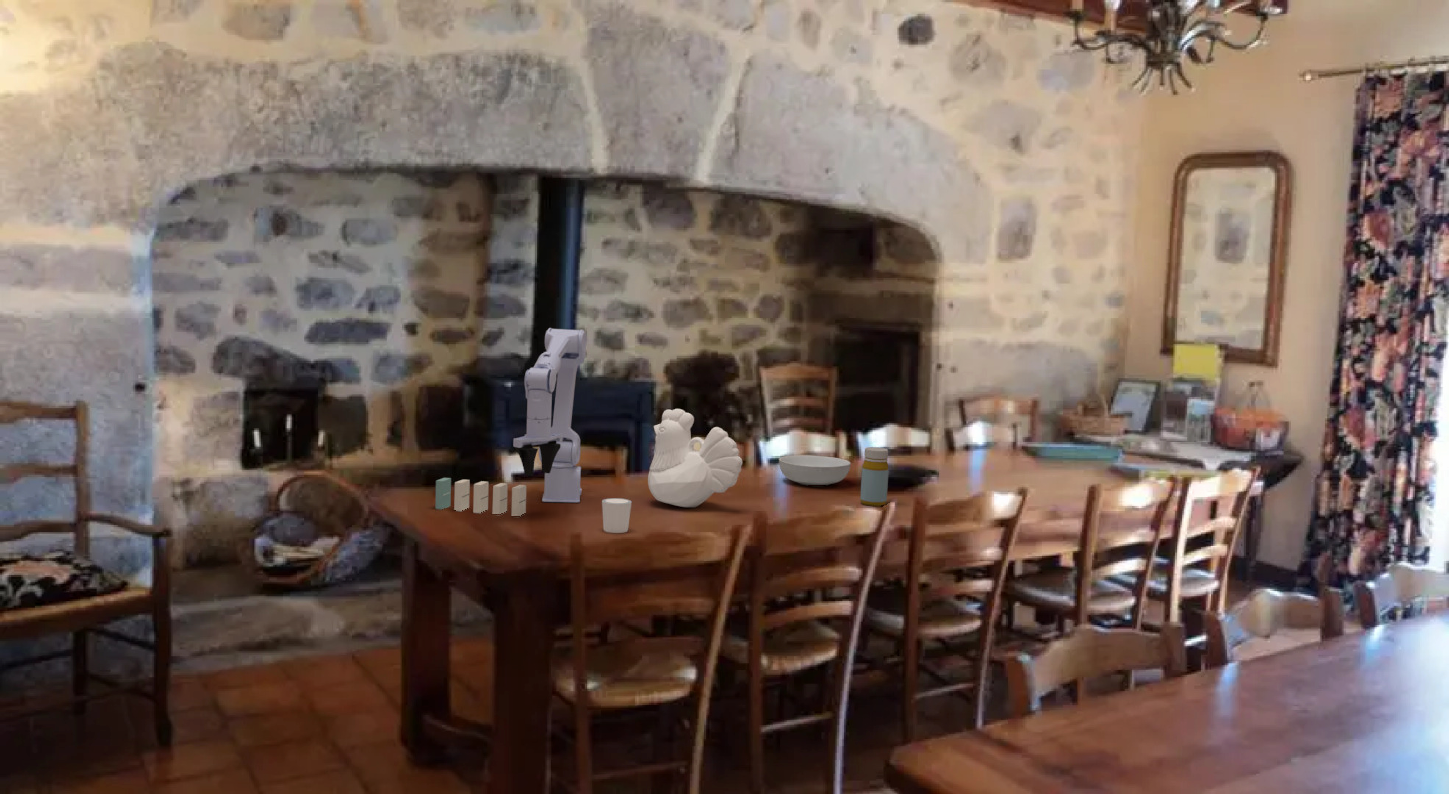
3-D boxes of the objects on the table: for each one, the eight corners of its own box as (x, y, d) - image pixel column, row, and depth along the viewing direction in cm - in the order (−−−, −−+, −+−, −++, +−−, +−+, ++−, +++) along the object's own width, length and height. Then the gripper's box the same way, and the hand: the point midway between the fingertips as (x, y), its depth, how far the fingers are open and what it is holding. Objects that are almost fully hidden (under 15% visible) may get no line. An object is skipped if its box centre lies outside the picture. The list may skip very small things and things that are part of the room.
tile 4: (507, 511, 291) (507, 483, 290) (499, 515, 287) (500, 486, 286) (500, 511, 292) (500, 483, 291) (492, 514, 287) (493, 486, 286)
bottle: (888, 503, 323) (892, 448, 321) (883, 507, 316) (886, 452, 315) (863, 500, 325) (866, 446, 324) (857, 504, 319) (860, 449, 317)
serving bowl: (861, 483, 350) (862, 460, 350) (828, 493, 333) (829, 469, 332) (799, 474, 361) (800, 451, 361) (764, 483, 344) (765, 459, 343)
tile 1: (450, 506, 294) (451, 478, 294) (442, 509, 290) (443, 481, 289) (443, 505, 295) (444, 477, 294) (435, 508, 291) (435, 480, 290)
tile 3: (488, 509, 292) (488, 481, 291) (480, 513, 288) (481, 485, 287) (481, 509, 293) (481, 481, 292) (473, 512, 288) (473, 484, 288)
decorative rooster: (634, 503, 307) (637, 408, 304) (672, 495, 320) (676, 403, 317) (711, 520, 292) (716, 419, 289) (748, 510, 305) (753, 414, 302)
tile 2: (469, 508, 293) (469, 480, 293) (461, 511, 289) (462, 483, 288) (462, 507, 294) (462, 479, 293) (454, 510, 290) (454, 482, 289)
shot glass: (601, 526, 280) (602, 497, 279) (630, 527, 281) (631, 498, 280) (600, 533, 273) (601, 503, 272) (630, 534, 274) (631, 504, 273)
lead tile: (525, 513, 290) (526, 485, 289) (518, 517, 286) (519, 488, 285) (518, 512, 290) (519, 484, 290) (511, 516, 286) (512, 487, 285)
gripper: (548, 413, 292) (547, 468, 294) (504, 418, 281) (503, 475, 282) (569, 417, 288) (567, 472, 290) (526, 422, 277) (524, 479, 278)
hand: (537, 474), depth 286 cm, fingers open, 5 cm apart
